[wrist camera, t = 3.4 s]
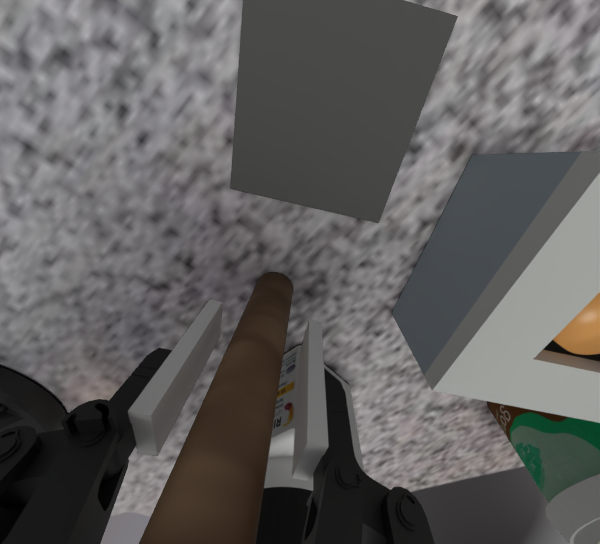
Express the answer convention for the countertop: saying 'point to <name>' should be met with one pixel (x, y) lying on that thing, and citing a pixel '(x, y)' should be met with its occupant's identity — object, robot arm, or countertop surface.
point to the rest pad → (331, 98)
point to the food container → (559, 466)
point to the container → (291, 462)
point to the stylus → (230, 433)
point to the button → (583, 331)
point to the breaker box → (510, 284)
